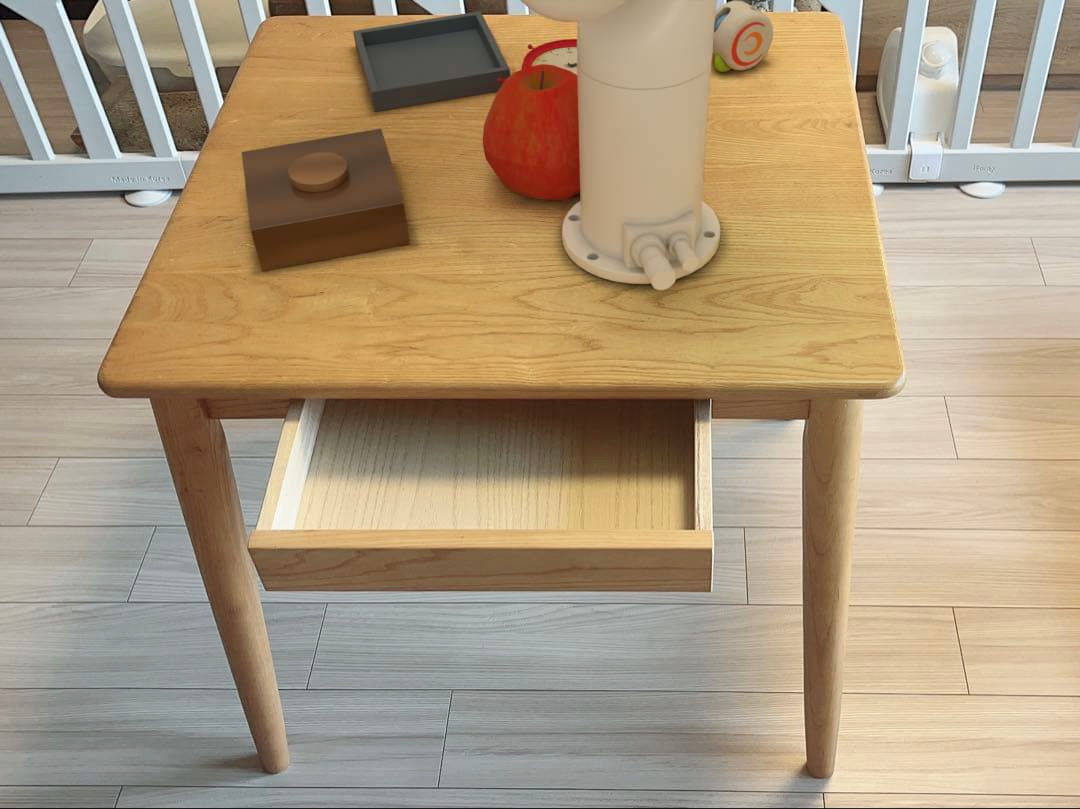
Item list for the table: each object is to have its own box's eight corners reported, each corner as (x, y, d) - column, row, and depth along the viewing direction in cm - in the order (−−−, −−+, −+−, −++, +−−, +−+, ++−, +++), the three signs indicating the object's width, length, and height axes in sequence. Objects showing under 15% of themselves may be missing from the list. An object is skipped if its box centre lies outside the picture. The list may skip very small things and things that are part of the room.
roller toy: (696, 61, 112) (699, 5, 108) (749, 45, 114) (754, -11, 110) (721, 80, 109) (726, 22, 105) (775, 63, 111) (781, 6, 107)
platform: (409, 244, 92) (402, 194, 88) (261, 271, 90) (248, 221, 86) (387, 168, 100) (379, 119, 97) (251, 191, 98) (239, 143, 95)
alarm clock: (530, 31, 110) (675, 18, 103) (546, 91, 114) (686, 82, 107) (485, 81, 103) (637, 70, 96) (504, 142, 107) (651, 136, 100)
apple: (479, 214, 94) (466, 99, 87) (500, 150, 101) (489, 40, 94) (601, 218, 93) (598, 101, 85) (613, 153, 100) (611, 40, 93)
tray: (511, 89, 109) (509, 69, 108) (374, 111, 107) (371, 91, 106) (482, 29, 119) (480, 10, 117) (356, 49, 117) (352, 30, 115)
